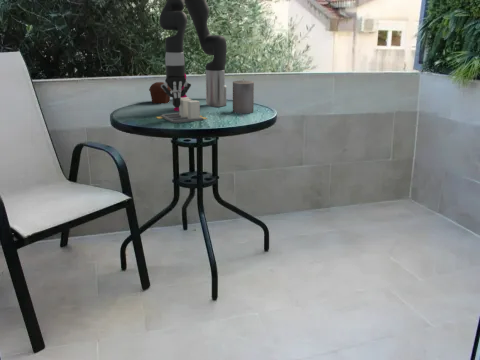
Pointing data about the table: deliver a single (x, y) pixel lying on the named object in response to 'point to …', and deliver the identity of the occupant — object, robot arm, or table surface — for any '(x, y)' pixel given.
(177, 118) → the switch box
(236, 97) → the pillar candle
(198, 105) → the block
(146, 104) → the table surface
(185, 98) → the tab inner
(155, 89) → the muffin
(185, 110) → the tab middle
